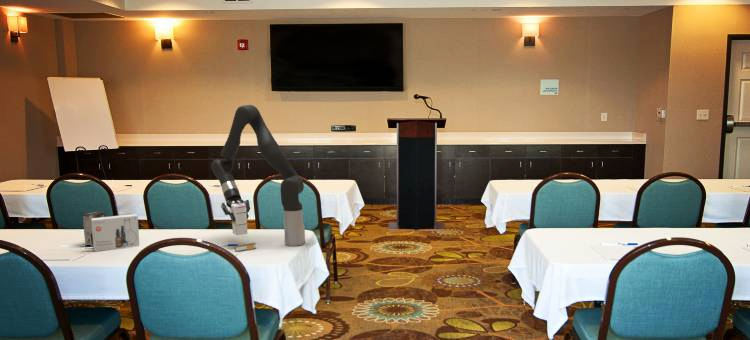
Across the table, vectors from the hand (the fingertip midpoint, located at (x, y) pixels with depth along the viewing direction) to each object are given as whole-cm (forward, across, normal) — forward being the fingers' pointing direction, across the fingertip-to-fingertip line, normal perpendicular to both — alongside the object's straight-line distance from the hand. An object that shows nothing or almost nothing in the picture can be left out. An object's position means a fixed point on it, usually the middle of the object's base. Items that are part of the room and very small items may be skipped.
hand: (240, 219), depth 290 cm
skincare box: (-18, -50, +39) cm, 66 cm away
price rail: (+13, 0, +7) cm, 15 cm away
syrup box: (+4, 0, +6) cm, 8 cm away
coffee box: (-29, -57, +50) cm, 81 cm away
